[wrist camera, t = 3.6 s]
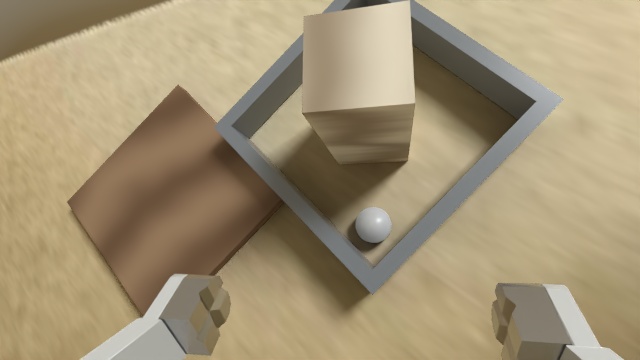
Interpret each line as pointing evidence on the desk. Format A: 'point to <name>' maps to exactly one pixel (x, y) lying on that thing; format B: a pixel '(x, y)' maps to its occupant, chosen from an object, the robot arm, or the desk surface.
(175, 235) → the walnut board
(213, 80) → the desk surface
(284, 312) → the desk surface
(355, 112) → the block
